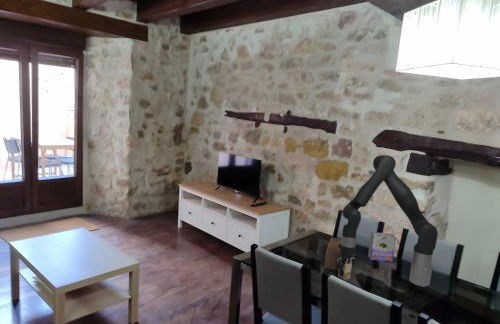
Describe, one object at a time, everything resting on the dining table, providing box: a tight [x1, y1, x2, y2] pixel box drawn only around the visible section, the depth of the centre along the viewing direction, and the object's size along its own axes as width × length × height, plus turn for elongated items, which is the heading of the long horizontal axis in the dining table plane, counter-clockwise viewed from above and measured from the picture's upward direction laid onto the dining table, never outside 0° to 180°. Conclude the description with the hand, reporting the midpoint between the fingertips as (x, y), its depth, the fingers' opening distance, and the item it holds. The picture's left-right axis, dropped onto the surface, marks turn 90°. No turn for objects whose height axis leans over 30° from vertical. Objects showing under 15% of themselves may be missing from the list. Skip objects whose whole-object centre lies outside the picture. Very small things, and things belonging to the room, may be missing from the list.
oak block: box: [337, 262, 353, 281], centre depth 189 cm, size 4×4×8 cm
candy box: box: [367, 231, 397, 263], centre depth 218 cm, size 14×6×16 cm, turn 84°
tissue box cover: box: [323, 237, 341, 271], centre depth 209 cm, size 26×14×10 cm, turn 161°
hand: (344, 274), depth 189 cm, fingers closed on oak block, 4 cm apart
